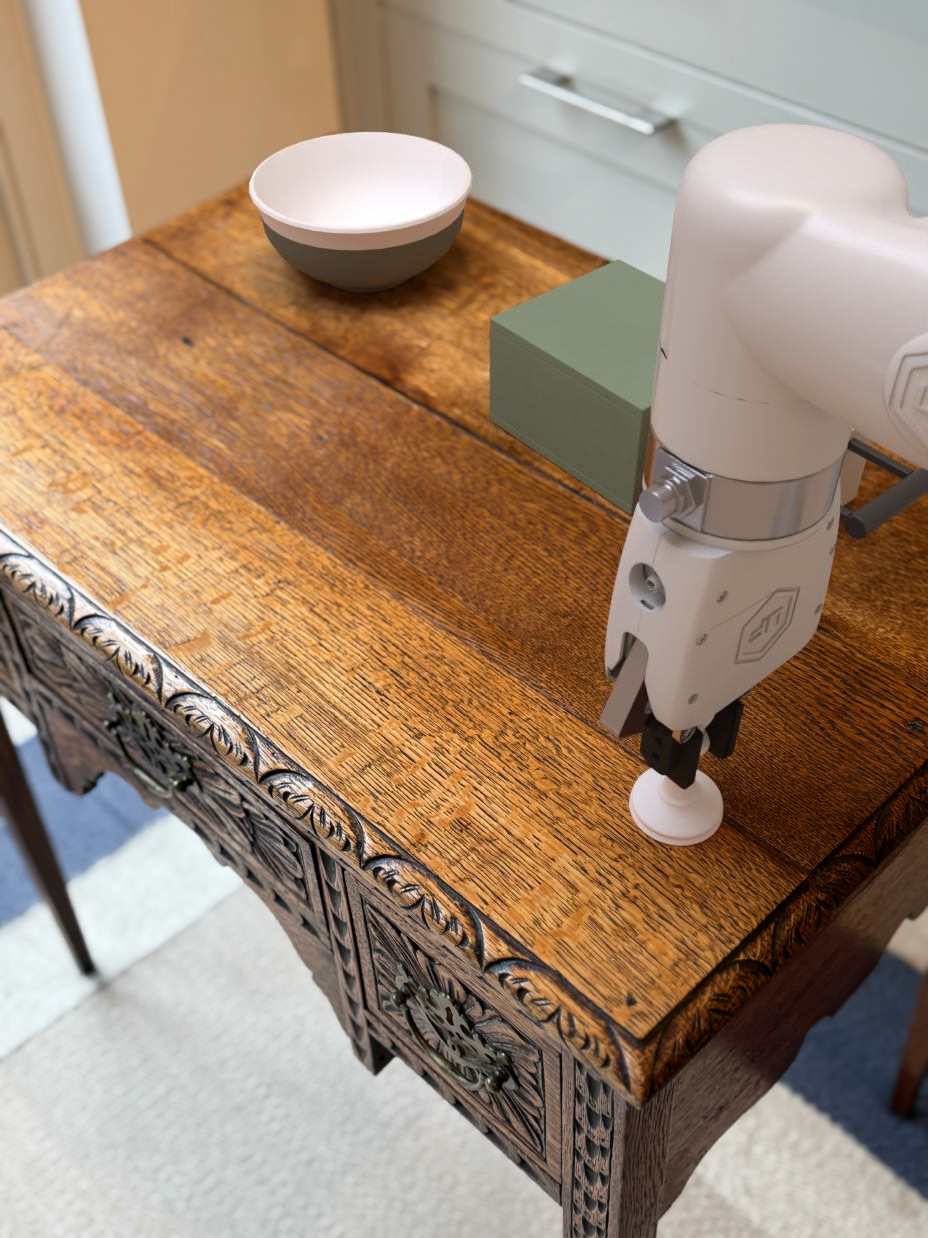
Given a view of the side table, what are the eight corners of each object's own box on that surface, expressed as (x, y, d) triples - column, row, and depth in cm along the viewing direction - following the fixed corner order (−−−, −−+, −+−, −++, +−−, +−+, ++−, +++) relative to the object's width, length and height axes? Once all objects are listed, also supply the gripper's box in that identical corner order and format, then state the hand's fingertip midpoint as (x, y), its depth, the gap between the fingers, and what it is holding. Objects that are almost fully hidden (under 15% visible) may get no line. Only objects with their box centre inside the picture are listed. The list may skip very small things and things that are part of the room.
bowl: (223, 256, 106) (208, 166, 100) (398, 199, 113) (393, 113, 107) (331, 347, 95) (321, 252, 89) (516, 278, 102) (518, 186, 97)
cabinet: (753, 442, 85) (773, 338, 79) (630, 516, 80) (642, 409, 73) (609, 359, 93) (618, 258, 87) (489, 420, 88) (489, 317, 81)
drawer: (932, 541, 76) (962, 456, 71) (820, 623, 71) (844, 537, 66) (704, 409, 87) (717, 327, 82) (593, 472, 82) (600, 388, 77)
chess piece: (617, 829, 62) (633, 702, 55) (643, 759, 65) (662, 632, 58) (710, 858, 60) (739, 733, 53) (732, 786, 63) (762, 658, 56)
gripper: (672, 604, 41) (627, 894, 54) (942, 425, 48) (845, 719, 61) (526, 500, 45) (517, 792, 58) (795, 350, 52) (733, 640, 65)
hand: (685, 753), depth 59 cm, fingers closed on chess piece
